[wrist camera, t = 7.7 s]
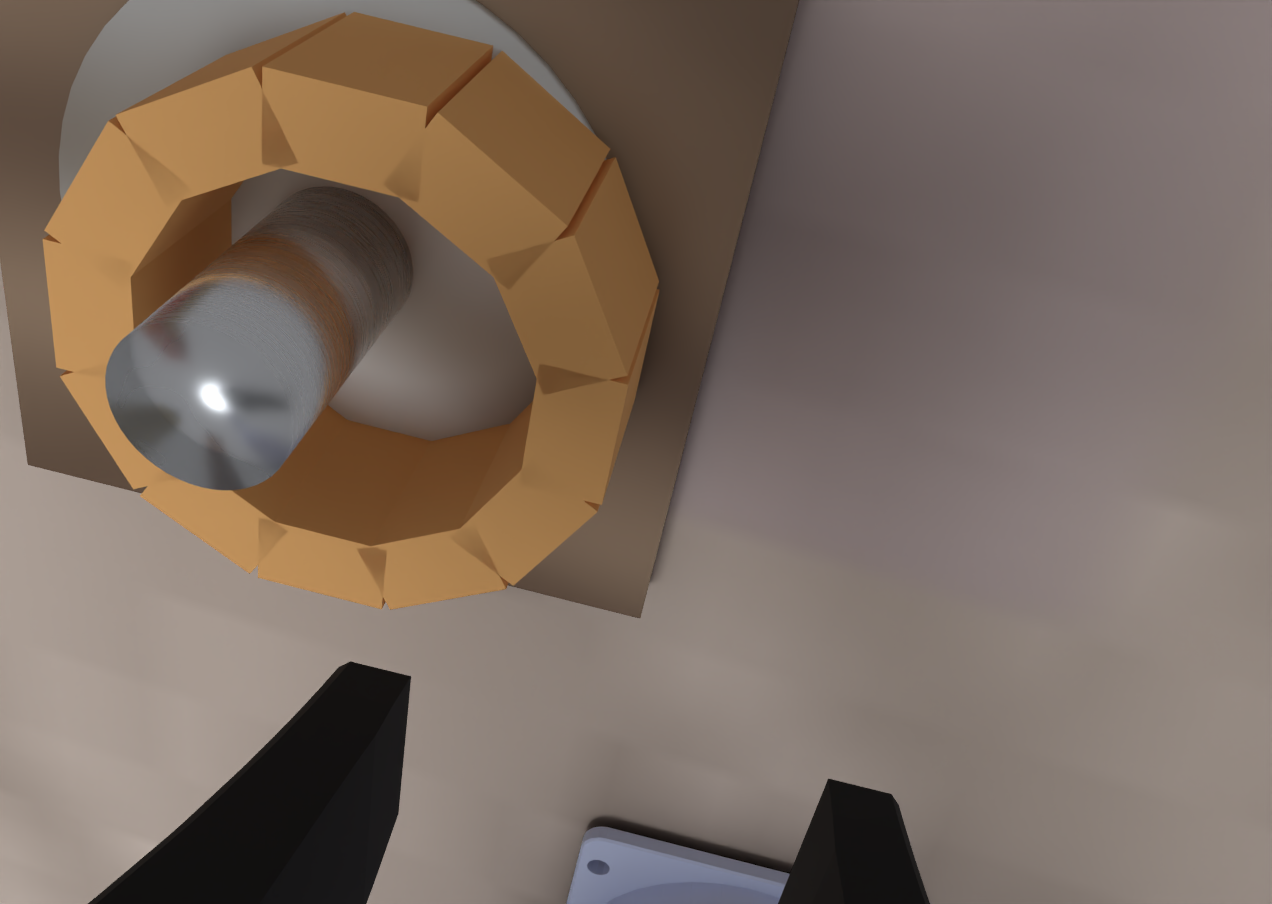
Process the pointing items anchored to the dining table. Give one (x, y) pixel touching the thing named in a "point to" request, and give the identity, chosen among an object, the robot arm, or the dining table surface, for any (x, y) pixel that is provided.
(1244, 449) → the dining table surface
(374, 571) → the wooden ring
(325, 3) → the walnut base plate
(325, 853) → the robot arm
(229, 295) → the steel shaft
